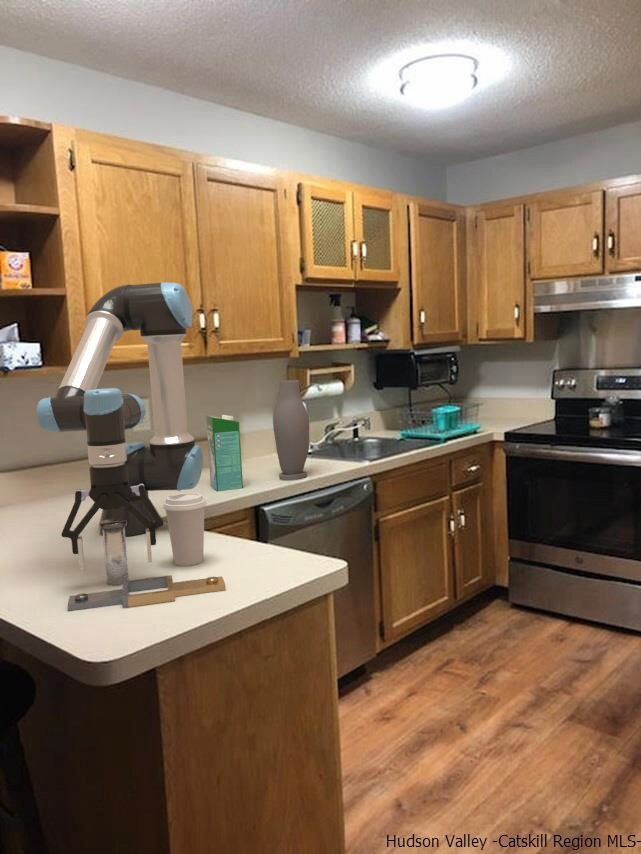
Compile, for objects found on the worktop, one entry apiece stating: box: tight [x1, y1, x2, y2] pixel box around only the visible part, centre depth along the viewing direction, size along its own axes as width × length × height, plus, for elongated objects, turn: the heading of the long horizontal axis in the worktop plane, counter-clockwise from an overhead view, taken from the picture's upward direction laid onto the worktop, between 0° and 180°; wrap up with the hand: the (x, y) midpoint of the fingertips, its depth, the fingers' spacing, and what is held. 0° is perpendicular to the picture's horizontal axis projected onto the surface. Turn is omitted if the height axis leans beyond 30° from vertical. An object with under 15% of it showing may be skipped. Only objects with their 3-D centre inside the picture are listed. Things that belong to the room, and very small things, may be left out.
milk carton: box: [206, 414, 244, 492], centre depth 238 cm, size 9×9×25 cm
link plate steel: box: [67, 575, 168, 612], centre depth 136 cm, size 10×19×2 cm, turn 105°
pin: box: [98, 518, 130, 587], centre depth 146 cm, size 5×5×13 cm
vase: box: [272, 379, 310, 481], centre depth 250 cm, size 13×13×35 cm
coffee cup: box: [162, 492, 207, 567], centre depth 157 cm, size 10×10×15 cm
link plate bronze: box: [128, 574, 226, 608], centre depth 139 cm, size 10×19×2 cm, turn 105°
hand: (116, 564), depth 146 cm, fingers open, 13 cm apart
